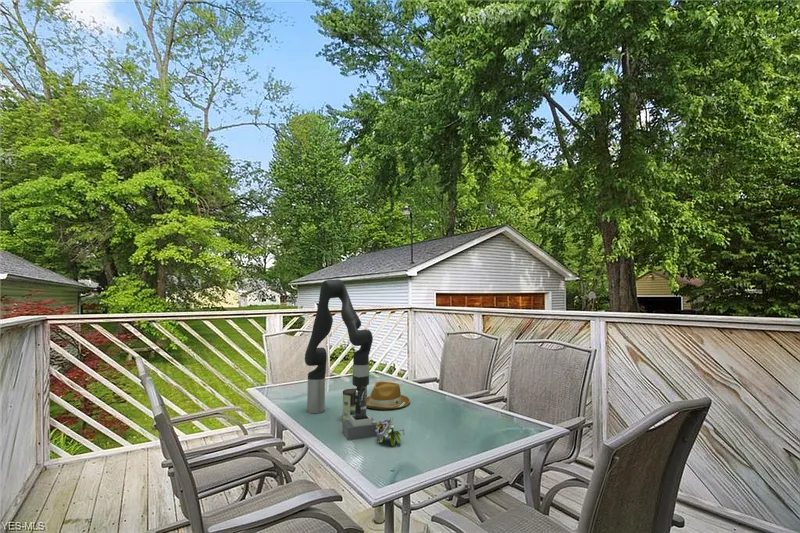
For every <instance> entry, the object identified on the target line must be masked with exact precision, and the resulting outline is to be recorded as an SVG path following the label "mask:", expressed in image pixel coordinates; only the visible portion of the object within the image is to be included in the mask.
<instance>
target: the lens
mask: <svg viewBox="0 0 800 533" xmlns="http://www.w3.org/2000/svg"><path fill="white" fill-rule="evenodd" d="M357 402H358V400H357ZM367 408H368V407H367V405H366V399H363V400H362V401H361V413H360V414H356V413H355V420H361V419H366V414H367Z"/></svg>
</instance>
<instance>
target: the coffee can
mask: <svg viewBox="0 0 800 533" xmlns="http://www.w3.org/2000/svg"><path fill="white" fill-rule="evenodd" d="M356 388H357V387H356ZM356 388H354V387H353V388H345V389H344V390H342V421H347V420H349V415H355V405H354V391H355V390H356Z"/></svg>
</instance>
